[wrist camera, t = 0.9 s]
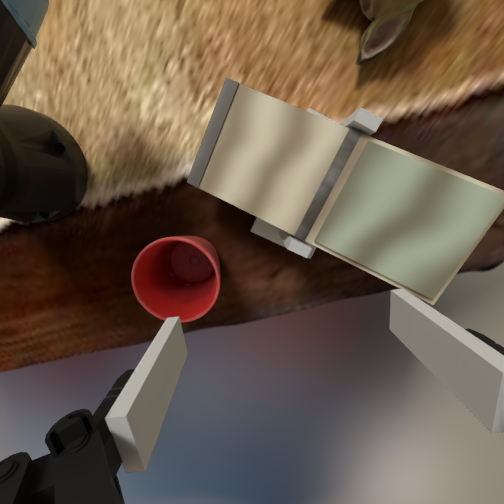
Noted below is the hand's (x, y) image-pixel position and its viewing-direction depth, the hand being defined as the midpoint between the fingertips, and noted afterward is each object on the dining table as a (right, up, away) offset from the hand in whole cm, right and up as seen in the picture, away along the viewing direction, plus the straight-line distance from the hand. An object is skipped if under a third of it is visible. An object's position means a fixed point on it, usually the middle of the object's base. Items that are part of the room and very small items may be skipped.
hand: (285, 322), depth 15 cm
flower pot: (-11, +3, +23) cm, 26 cm away
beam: (+6, +11, +12) cm, 18 cm away
